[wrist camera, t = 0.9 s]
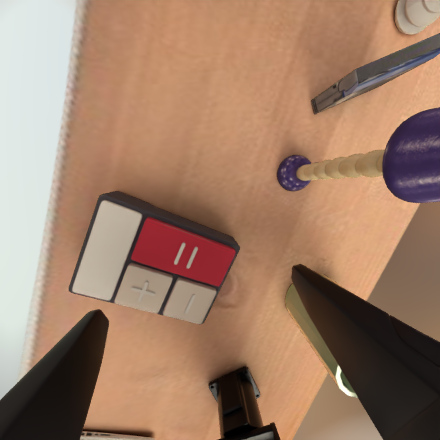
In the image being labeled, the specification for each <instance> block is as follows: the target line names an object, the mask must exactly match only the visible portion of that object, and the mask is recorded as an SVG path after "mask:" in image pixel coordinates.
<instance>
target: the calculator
mask: <svg viewBox="0 0 440 440" xmlns="http://www.w3.org/2000/svg"><path fill="white" fill-rule="evenodd" d="M239 250H240V247H239V245H238V243H237V242H236V241H235V239H234V238H233V237H231V236H229V235H226V234H224V233H221V232H218V231H216V230H213V229H211V228H208V227H206V226H203V225H201V224H198V223H195V222H193V221H190V220H188V219H185V218H183V217H180V216H177V215H175V214H172V213H170V212H167V211H165V210H162V209H159V208H157V207H155V206H153V205H151V204H149V203H147V202H145V201H142V200H140V199H137V198H135V197H132V196H129V195H127V194H124V193H122V192H119V191H114V192H110V193H105V194H102V195H100V196H99V198H98V201H97V204H96V207H95V210H94V213H93V216H92V219H91V222H90V225H89V228H88V231H87V234H86V237H85V240H84V243H83V246H82V249H81V252H80V255H79V258H78V261H77V264H76V267H75V270H74V273H73V277H72V280H71V283H70V286H69V291H70V292H71V293H74V294H78V295H82V296H86V297H90V298H95V299H99V300H103V301H107V302H111V303H115V304H118V305H122V306H126V307H131V308H135V309H139V310H143V311H147V312H151V313H156V314H160V315H164V316H168V317H172V318H176V319H180V320H184V321H188V322H192V323H196V324H203V323H204V321H205V320H206V318H207V315H208V313H209V311H210V309H211V307H212V305H213V303H214V301H215V299H216V297H217V295H218V293H219V291H220V289H221V287H222V285H223V283H224V281H225V279H226V277H227V274H228V272H229V270H230V268H231V266H232V264H233V262H234V260H235V258H236V256H237V254H238V252H239Z"/></svg>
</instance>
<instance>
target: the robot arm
mask: <svg viewBox="0 0 440 440" xmlns="http://www.w3.org/2000/svg"><path fill="white" fill-rule="evenodd" d="M292 282H293V284H294V287H295V289H296V291H297V293H298V295H299V297H300V299H301V301H302V303H303V306H304V308H305V310H306V312H307V314H308V315H309V317H310V319H311V320H312V322H313V324H314V325H315V327H316V329H317V330H318V332H319V334H320V335H321V337H322V339H323V340H324V342H325V344H326V345H327V347H328V349H329V350H330V352H331V354H332V355H333V357H334V359H335V360H336V362H337V364H338V365H339V367H340V369H341V370H342V372H343V374H344V375H345V377H346V379H347V380H348V382H349V384H350V385H351V387H352V388H353V390H354V392H355V393H356V395H357V397H358V398H359V400H360V402H361V403H362V405H363V407H364V408H365V410H366V412H367V413H368V415H369V417H370V418H371V420H372V422H373V423H374V425H375V427H376V428H377V430H378V431H379V433H380V435H381V436H382V438H383V440H440V342H438V341H437V340H435V339H433V338H431V337H429V336H427V335H425V334H423V333H421V332H420V331H418V330H416V329H414V328H412V327H411V326H409V325H407V324H405V323H403V322H402V321H400V320H398V319H396V318H395V317H393V316H391V315H390V316H389V314H388V313H386V312H384V311H382V310H381V309H379V308H377V307H375V306H373V305H372V304H370V303H368V302H367V301H365V300H363V299H361V298H360V297H358V296H356V295H354V294H353V293H351V292H349V291H348V290H346V289H344V288H342V287H341V286H339V285H337V284H335V283H334V282H332V281H330V280H328V279H327V278H325V277H323V276H321V275H320V274H318V273H316V272H314V271H313V270H311V269H309V268H307V267H306V266H304V265H302V264H299V265H294V266H293V267H292ZM108 327H109V321H108V319H107V317H106V316H105V315H104V313H103V312H102V311H101V310H99V309H98V310H93V311H90V312H88V313H87V314H86V315H85V316H84V317H83V318H82V319H81V320H80V321H79V322H78V323H77V324H76V325H75V326H74V327H73V328H72V329H71V330H70V331H69V332H68V333H67V334H66V335H65V336H64V337H63V338H62V339H61V340H60V341H59V342H58V343H57V344H56V345H55V346H54V347H53V348H52V349H51V350H50V351H49V352H48V353H47V354H46V355H45V356H44V357H43V358H42V359H41V360H40V361H39V362H38V363H37V364H36V365H35V366H34V367H33V368H32V369H31V370H30V371H29V372H28V373H27V374H26V375H25V376H24V377H23V378H22V379H21V380H20V381H19V382H18V383H17V384H16V385H15V386H14V387H13V388H12V389H11V390H10V391H9V392H8V393H7V394H6V395H5V396H4V397H3V398H2V399H1V400H0V440H80V438H81V434H82V431H83V427H84V424H85V420H86V417H87V413H88V410H89V406H90V403H91V399H92V396H93V392H94V389H95V385H96V382H97V378H98V374H99V371H100V367H101V363H102V359H103V354H104V348H105V343H106V338H107V332H108ZM209 389H210V391H211V392H212V394H213V396H214V397H215V399H216V401H217V403H218V411H219V423H220V435H221V439H218V440H280V437H279V434H278V432H277V429H276V426H275V423H274V422H273V423H270V425H266V426H263V423H262V419H261V415H260V411H259V407H258V404H257V400H256V399H257V398H259V397H260V392H259V390H258V388H257V386H256V384H255V382H254V380H253V378H252V376H251V374H250V372H249V369H248V368H247V367H243V368H241V369H239V370H237V371H234V372H232V373H230V374H228V375H225V376H223V377H221V378H219V379H216V380H214V381H212V382H210V383H209Z"/></svg>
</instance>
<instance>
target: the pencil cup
mask: <svg viewBox="0 0 440 440" xmlns="http://www.w3.org/2000/svg"><path fill="white" fill-rule="evenodd" d="M318 274H320V273H318ZM320 275H321V276H323V277H325V278H327V279H328V280H330V281H332V282H334V283H335V284H337V285H339V284H338V283H336V282H335V281H334V280H332V279H331V278H329V277H328V276H326V275H324V274H320ZM339 286H340V285H339ZM341 287H342V286H341ZM342 288H343V287H342ZM285 305H286V308H287V311H288V312H289V314H290V316H291V317H292V319H293V320H294V322H295V323H296V325H297V326H298V328H299V329H300V331H301V332H302V334H303V335H304V337H305V338H306V340H307V341H308V343H309V344H310V346H311V347H312V349H313V350H314V352H315V353H316V355H317V356H318V358H319V359H320V361H321V362H322V364H323V365H324V367H325V368H326V370H327V371H328V373H329V374H330V376H331V377H332V378H333V380H334V382H335V383H336V384H337V386H338V387H339V389H341V390H342V391H343V392H344V393H346V394H347V395H348V396H352V397H357V395H356V393H355V392H354V390H353V388H352V387H351V385H350V384H349V382H348V380H347V379H346V377H345V375H344V374H343V372H342V370H341V369H340V367H339V365H338V364H337V362H336V360H335V359H334V357H333V355H332V354H331V352H330V350H329V349H328V347H327V345H326V344H325V342H324V340H323V339H322V337H321V335H320V334H319V332H318V330H317V329H316V327H315V325H314V324H313V322H312V320H311V319H310V317H309V315H308V314H307V312H306V310H305V308H304V306H303V303H302V301H301V299H300V297H299V295H298V293H297V291H296V289H295V287H294V284H292V285H291V286H290V287H289V289H288V291H287V294H286V298H285ZM357 398H358V397H357Z"/></svg>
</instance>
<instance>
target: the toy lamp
mask: <svg viewBox="0 0 440 440" xmlns="http://www.w3.org/2000/svg"><path fill="white" fill-rule="evenodd" d="M382 175H383V178H384V180H385V183H386V185H387V188H388V189H389V190H390V191H391V192H392V193H393V194H394V196H396V197H398V198H399V199H401V200H404V201H407V202H413V203H428V202H437V201H440V107H439V108H434V109H429V110H425V111H422V112H419V113H417V114H415V115H413V116H411V117H410V118H408V119H407V120H406V121H404V122H402V124H401V125H400V126H399V127H398V128H397V129H396V130H395V132H394V133H393V134H392V136H391V137H390V139H389V141H388V143H387V145H386V149H385V150H375V151H371V152H368V153H366V154H354V155H351V156H349V157H338V158H335V159H333V160H325V161H322V162H316V163H312V164H311V162H310V161H309V160H308V159H307V158H305V157H303V156H300V155H292V156H289V157H287V158H286V159H284V160H283V162H282V163H281V164H280V166H279V168H278V172H277V177H278V181H279V183H280V185H281V186H282V187H283V188H285V189H286V190H289V191H298V190H301V189H303V188H304V187H306V186H307V185H308V184H309V182H310V181H311V180H319V179H322V180H327V179H331V178H333V179H341V178H344V177H348V178H357V177H361V176H365V177H378V176H382Z"/></svg>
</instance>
